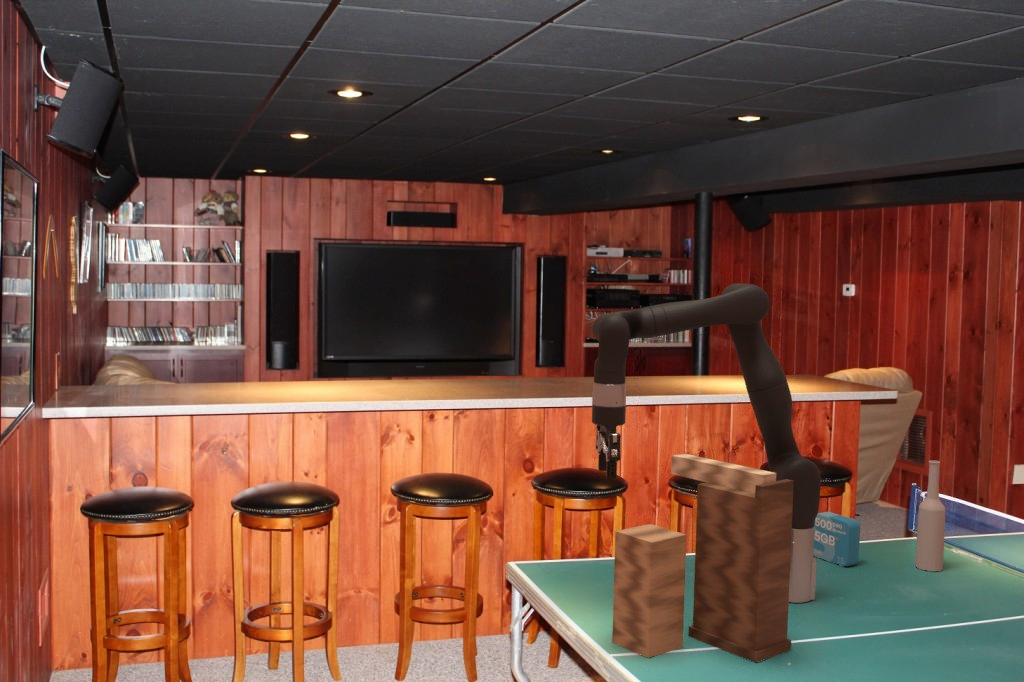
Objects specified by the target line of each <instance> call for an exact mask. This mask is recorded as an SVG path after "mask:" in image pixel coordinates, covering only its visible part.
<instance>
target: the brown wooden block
mask: <svg viewBox="0 0 1024 682" xmlns="http://www.w3.org/2000/svg"><path fill="white" fill-rule="evenodd" d="M670 468H671V469H670V470H671V471H670V474H671V475H675V476H678V477H683V478H687V479H690V480H691V479H692V480H695V481H699V482H702V483H703V482H704V483H707V482H708V483H712V484H716V485H720V486H725V487H729V488H733V489H737V490H742V491H746V492H750V493H754V494H755V486H756V485H759V484H765V483H770V482H775V481H776V473H774V472H770V471H769V470H763V469H758V468H755V467H749V466H745V465H740V464H735V463H731V462H726V461H720V460H717V459H712V458H706V457H701V456H697V455H693V454H688V453H680V454H679V453H678V454H672V455H671V467H670Z"/></svg>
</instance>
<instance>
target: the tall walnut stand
mask: <svg viewBox="0 0 1024 682" xmlns="http://www.w3.org/2000/svg"><path fill="white" fill-rule="evenodd" d="M793 486H794V481H793V480H789V479H785V480H780V481H775V482H770V483H765V484H759V485H756V486H755V494H754V493H750V492H746V491H742V490H737V489H733V488H729V487H725V486H720V485H716V484H712V483H708V482H704V483H703V482H702V483H698V484H697V490H696V491H697V496H696V497H697V499H696V519H695V520H696V523H695V524H696V526H695V551H694V553H695V554H694V580H693V581H694V583H693V584H694V585H693V611H692V625H689V626H688V635H687V637H689V638H692V639H695V640H697V641H700V642H702V643H705V644H707V645H709V646H713V647H715V648H718V649H720V650H723V651H725V652H727V653H730V654H733V655H734V654H735V656H737V655H738V656H737V657H739V656H740V658H742V657H743V658H742V659H744V658H746V659H745V660H747V659H749V660H751V661H750V662H752V661H754V662H758V661H760V662H762V661H761V660H763V659H766V658H768V659H770V658H769V657H771V658H773V656H774V657H776V656H779V655H782V654H784V653H786V651H787V652H790V651H791V650H792V640H791V639H789V638H788V628H789V627H788V626H789V625H788V624H789V622H788V621H789V603H790V602H789V581H790V557H791V533H792V510H793ZM783 652H784V653H783ZM778 654H779V655H778ZM775 655H776V656H775ZM749 660H748V661H749ZM766 660H767V659H766ZM763 661H764V660H763ZM754 662H753V663H754ZM758 663H759V662H758Z"/></svg>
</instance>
